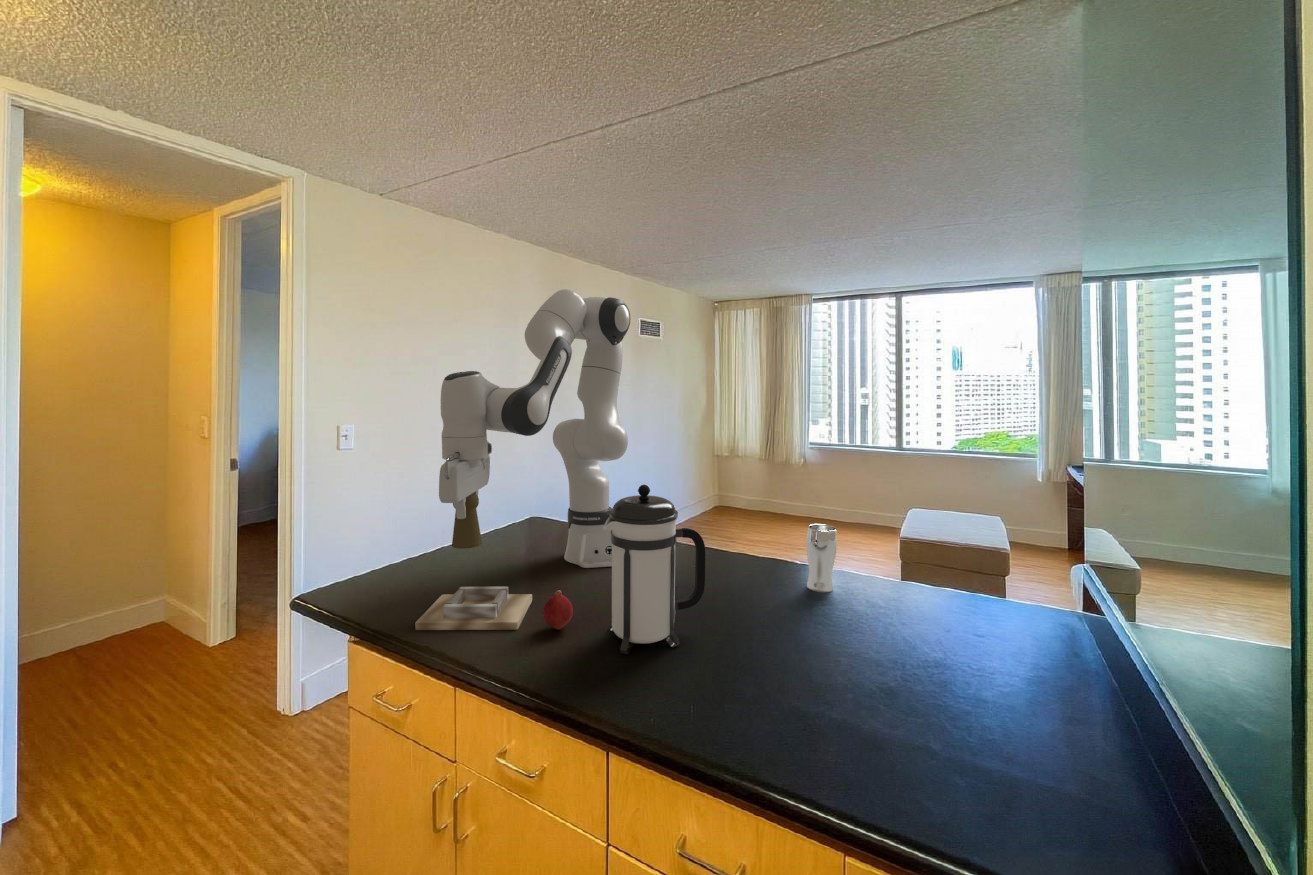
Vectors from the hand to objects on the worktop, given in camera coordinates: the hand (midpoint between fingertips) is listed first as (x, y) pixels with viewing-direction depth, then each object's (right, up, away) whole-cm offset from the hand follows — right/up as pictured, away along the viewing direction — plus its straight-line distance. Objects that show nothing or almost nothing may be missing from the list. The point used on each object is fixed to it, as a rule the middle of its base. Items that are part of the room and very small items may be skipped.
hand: (466, 514), depth 109 cm
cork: (0, -7, +1) cm, 7 cm away
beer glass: (+80, -21, +17) cm, 84 cm away
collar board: (+2, -21, 0) cm, 21 cm away
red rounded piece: (+20, -22, -6) cm, 31 cm away
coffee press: (+39, -23, -8) cm, 45 cm away
